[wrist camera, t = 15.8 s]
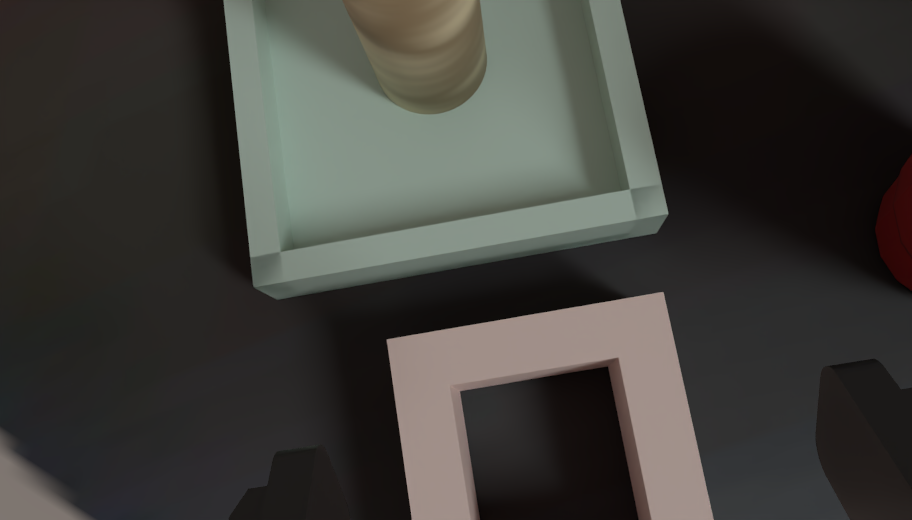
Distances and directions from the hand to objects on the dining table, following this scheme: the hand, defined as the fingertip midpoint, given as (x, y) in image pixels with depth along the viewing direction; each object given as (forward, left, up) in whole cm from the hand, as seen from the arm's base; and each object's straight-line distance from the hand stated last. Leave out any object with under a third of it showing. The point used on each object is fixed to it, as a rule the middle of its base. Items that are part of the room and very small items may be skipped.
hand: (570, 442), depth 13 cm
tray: (+2, -16, -19) cm, 25 cm away
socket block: (0, +1, -19) cm, 19 cm away
